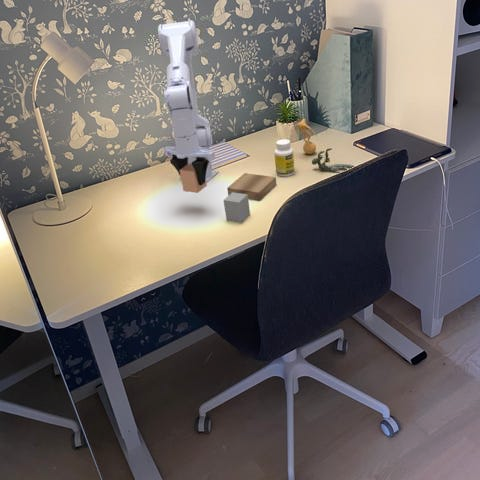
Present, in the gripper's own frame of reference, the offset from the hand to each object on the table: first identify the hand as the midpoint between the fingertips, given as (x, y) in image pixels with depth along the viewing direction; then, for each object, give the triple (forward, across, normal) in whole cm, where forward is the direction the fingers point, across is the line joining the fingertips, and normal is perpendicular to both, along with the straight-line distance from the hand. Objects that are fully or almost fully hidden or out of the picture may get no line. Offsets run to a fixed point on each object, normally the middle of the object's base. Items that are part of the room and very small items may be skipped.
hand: (194, 182), depth 143 cm
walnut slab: (+8, +9, +14) cm, 19 cm away
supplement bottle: (+8, +13, +27) cm, 31 cm away
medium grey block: (+8, +13, -1) cm, 15 cm away
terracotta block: (+2, 0, 0) cm, 2 cm away
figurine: (+8, +14, +41) cm, 44 cm away
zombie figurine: (+8, +27, +32) cm, 43 cm away
